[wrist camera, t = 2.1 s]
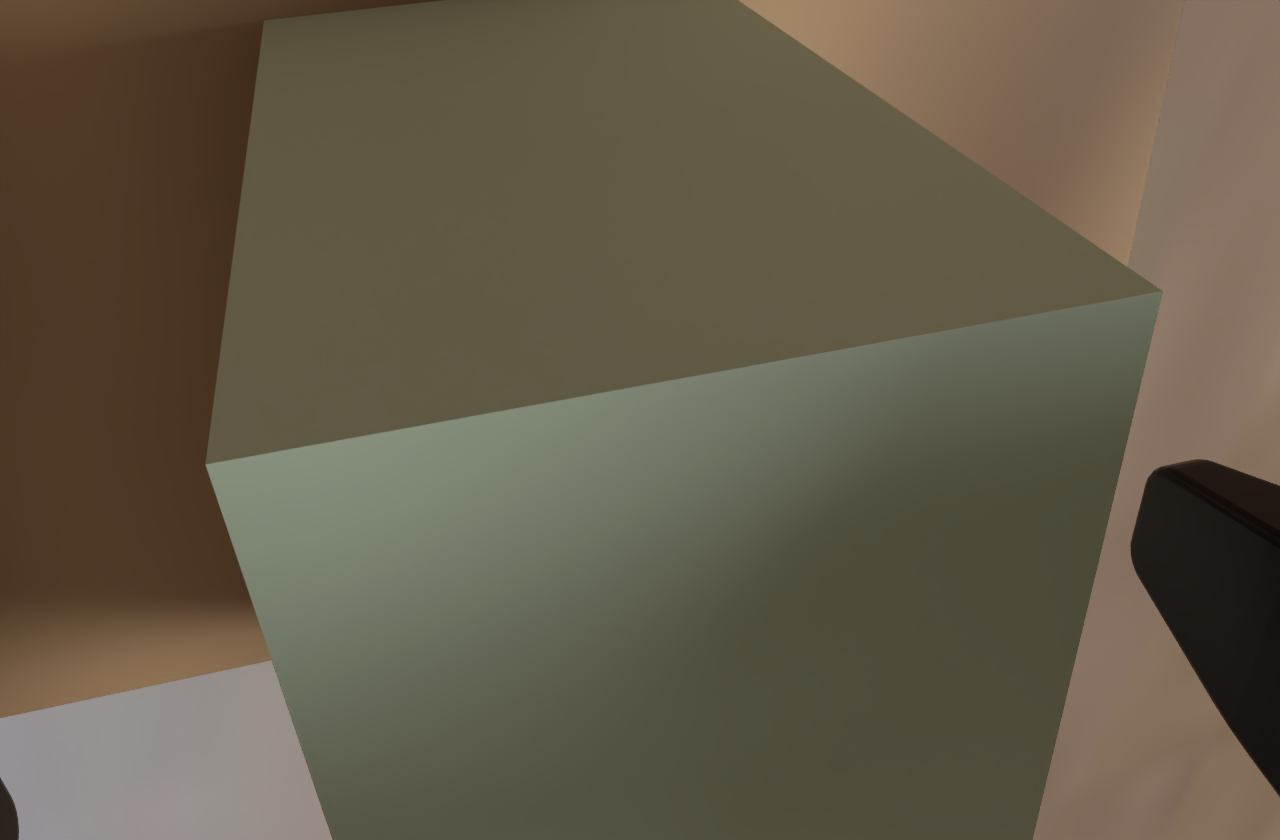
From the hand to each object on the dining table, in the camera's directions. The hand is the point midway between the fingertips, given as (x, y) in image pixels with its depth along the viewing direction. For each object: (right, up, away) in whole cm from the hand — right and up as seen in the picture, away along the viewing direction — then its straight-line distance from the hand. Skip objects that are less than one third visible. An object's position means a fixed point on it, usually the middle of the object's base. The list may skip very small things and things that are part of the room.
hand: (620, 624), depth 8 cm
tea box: (-1, +3, +4) cm, 5 cm away
